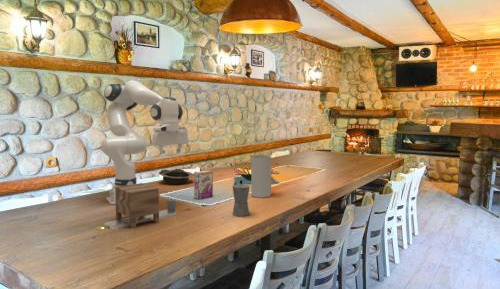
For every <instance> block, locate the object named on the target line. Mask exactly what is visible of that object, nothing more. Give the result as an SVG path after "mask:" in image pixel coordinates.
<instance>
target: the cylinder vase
mask: <svg viewBox="0 0 500 289" xmlns="http://www.w3.org/2000/svg"><path fill="white" fill-rule="evenodd" d="M250 159H251V163H250V164H251V168H250V169H251V170H250V174H251V175H250V176H251V177H250V178H251V180H250V182H251V184H250V186H251V187H250V188H251V190H250V193H251V196H252V197H254V198H257V199H258V198H259V199H264V198H266V199H267V198H270V197H271V196H272V156H271V155H266V154H265V155H263V154H261V155H260V154H258V155H252V156H251V158H250Z"/></svg>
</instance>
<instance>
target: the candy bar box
mask: <svg viewBox="0 0 500 289" xmlns="http://www.w3.org/2000/svg"><path fill="white" fill-rule="evenodd" d="M213 172H214V171H213V170H210V169H209V170H202V171H201V170H200V171H194V172H193V178H194V179H193V180H194V181H193V184H194V185H193V187H194V189H193V192H194V193H193V197H194V199H196V200H203V199H208V198H212V197H213V196H214V195H213V191H214V190H213V188H214V186H213V183H214V182H213V181H214V180H213V179H214V178H213V176H214V173H213Z"/></svg>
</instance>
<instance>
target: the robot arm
mask: <svg viewBox="0 0 500 289" xmlns="http://www.w3.org/2000/svg"><path fill="white" fill-rule="evenodd" d="M103 96H104V98H105V99H106V100H107V101H108V102H112V103H110V104H109V105H108V106H107V110H106V113H107V120H108V124H109V129H110V132H111V133H112V134H113V136H108V137H104V138H103V139H102V142H101V144H100V145H101V146H100V147H101V148H100V149H101V150H102V153H103V154H104V155H105V156H108V157H109V158H110V159H111V161H112V163H113V165H114V171H115V179H114V185H113V186H112V187H111V189H110V190H109V191H108V195H109V196H107V197H106V201H108V202H109V204H110V205H116V201H115V187H118V186H125V185H132V184H137V177H136V165H135V163H134V162H133V161H131V160H129V159H127V158H126V157H125V156H127V155H137V154H141V153H145V151H146V149H147V147H148V142H147V140H146V138H145V137H144V136H142V135H140V134H139V133H137V132H135V130H134V129H133V128H132V127H131V125H130V123H129V118H128V115H127V111H131V110H132V109H134V108H135V107H137V105H141V106H151V107H150V111H149V112H150V116H151V118H152V119H153V120H154V121H157V122H161V124H158V125H156V126H153V129H152V130H153V133H152V139H151V143H152V145H153V146H156V147H157V146H158V148H159V150H160V153H161V154H162V155H164V154H166V150H164V146H173V145H177V149H176V153H181V149H182V148H183V145H184V144H186V145H187V144H188V143H189V137H188V129H187V128H186V126H180V125H179V123H180V119H181V118H182V117H183V114H184V110H183V108H182V106H181V105H180V104H179V103H178V99H177V98H175V97H171V96H162V95H160V94H158V93H157V92H155V91H153V90H151V89H149V88H148V87H147V86H145V85H144V84H143V83H141V82H139V81H137V80H134V79H131V80H128V81H127V82H125V84H124V85H121V84H120V83H111V84H108V85H106V86H105V88H104V91H103Z"/></svg>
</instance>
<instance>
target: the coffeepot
mask: <svg viewBox="0 0 500 289" xmlns="http://www.w3.org/2000/svg"><path fill="white" fill-rule="evenodd" d="M250 186H251V185H249V184H246V183H243V179H242V180H241V179H240V180H239V182H236V181H235V182H234V183H233V185H232V192H233V198H234V204H233V211H232V215H233V216H235V217H248V216H249V215H250V209H249V204H248V203H249V202H248V200H249V193H250V188H251V187H250Z"/></svg>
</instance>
